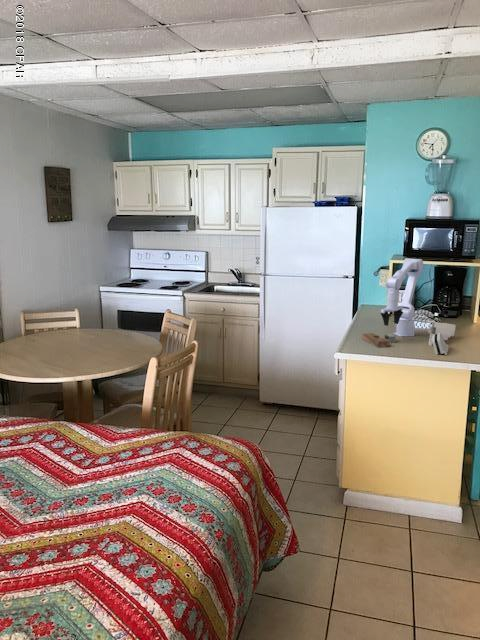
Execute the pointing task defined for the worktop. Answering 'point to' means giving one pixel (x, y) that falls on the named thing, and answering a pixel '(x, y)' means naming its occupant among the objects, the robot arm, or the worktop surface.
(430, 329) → the shelf bracket
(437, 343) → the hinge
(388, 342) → the brown u-shaped block
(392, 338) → the sage green cube
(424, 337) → the worktop surface
